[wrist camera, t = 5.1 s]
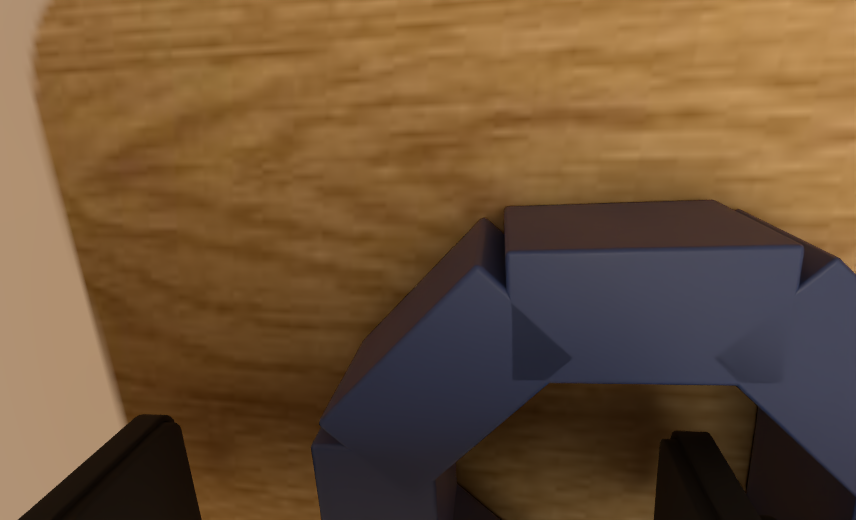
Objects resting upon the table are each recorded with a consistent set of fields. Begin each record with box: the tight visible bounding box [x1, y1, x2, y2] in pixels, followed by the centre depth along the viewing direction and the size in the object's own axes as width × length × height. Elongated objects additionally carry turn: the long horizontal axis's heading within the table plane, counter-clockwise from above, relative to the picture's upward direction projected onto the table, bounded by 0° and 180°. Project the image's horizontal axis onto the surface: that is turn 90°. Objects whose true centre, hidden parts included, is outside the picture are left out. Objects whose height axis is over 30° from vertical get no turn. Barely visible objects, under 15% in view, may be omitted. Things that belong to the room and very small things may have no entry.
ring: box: [311, 200, 856, 520], centre depth 10 cm, size 10×10×3 cm
